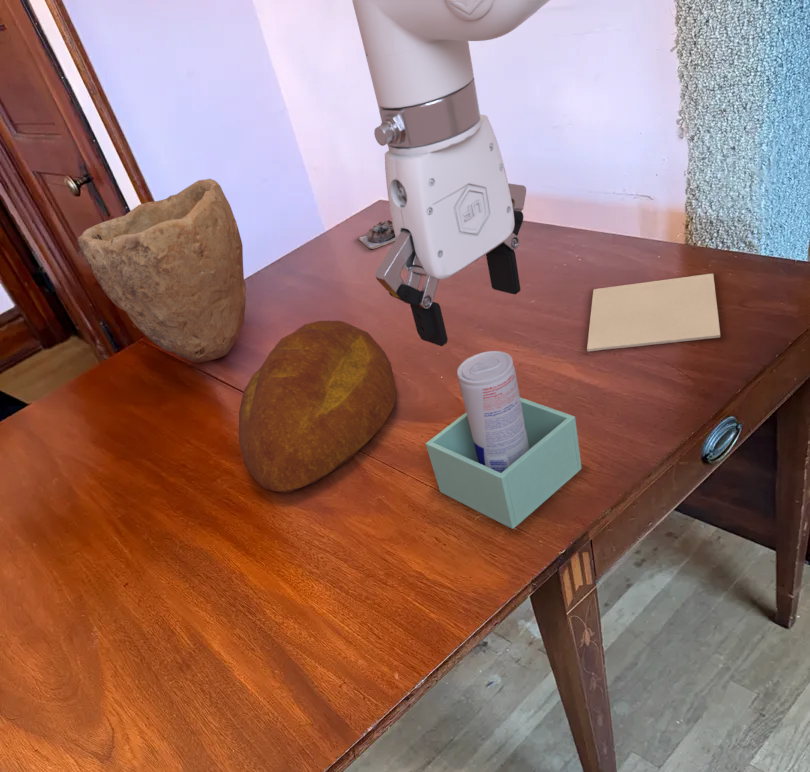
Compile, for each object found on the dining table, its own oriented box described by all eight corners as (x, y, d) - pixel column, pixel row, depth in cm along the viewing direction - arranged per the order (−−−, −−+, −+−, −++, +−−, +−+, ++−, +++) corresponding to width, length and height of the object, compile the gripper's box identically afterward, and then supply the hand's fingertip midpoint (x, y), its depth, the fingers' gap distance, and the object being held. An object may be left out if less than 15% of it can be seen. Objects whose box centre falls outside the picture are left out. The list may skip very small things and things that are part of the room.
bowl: (259, 306, 135) (199, 163, 118) (299, 350, 119) (236, 190, 102) (144, 359, 131) (65, 219, 115) (169, 412, 115) (81, 257, 98)
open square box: (506, 438, 88) (496, 388, 84) (582, 468, 81) (575, 416, 76) (439, 492, 84) (425, 443, 80) (512, 529, 77) (501, 478, 72)
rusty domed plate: (369, 251, 140) (366, 240, 139) (358, 239, 146) (355, 228, 145) (410, 234, 141) (407, 224, 139) (397, 223, 147) (395, 213, 145)
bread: (208, 505, 94) (161, 426, 86) (301, 361, 116) (271, 287, 108) (358, 504, 87) (323, 417, 78) (428, 350, 108) (407, 269, 100)
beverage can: (543, 468, 83) (522, 350, 73) (521, 501, 80) (497, 383, 70) (498, 461, 86) (472, 347, 76) (475, 492, 83) (446, 378, 73)
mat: (713, 275, 102) (713, 273, 102) (720, 337, 92) (720, 334, 91) (593, 291, 108) (593, 289, 108) (587, 351, 97) (586, 349, 97)
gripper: (379, 166, 52) (432, 373, 64) (540, 75, 59) (563, 279, 70) (318, 159, 57) (377, 352, 69) (473, 75, 64) (504, 266, 75)
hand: (471, 315), depth 69 cm, fingers open, 9 cm apart
